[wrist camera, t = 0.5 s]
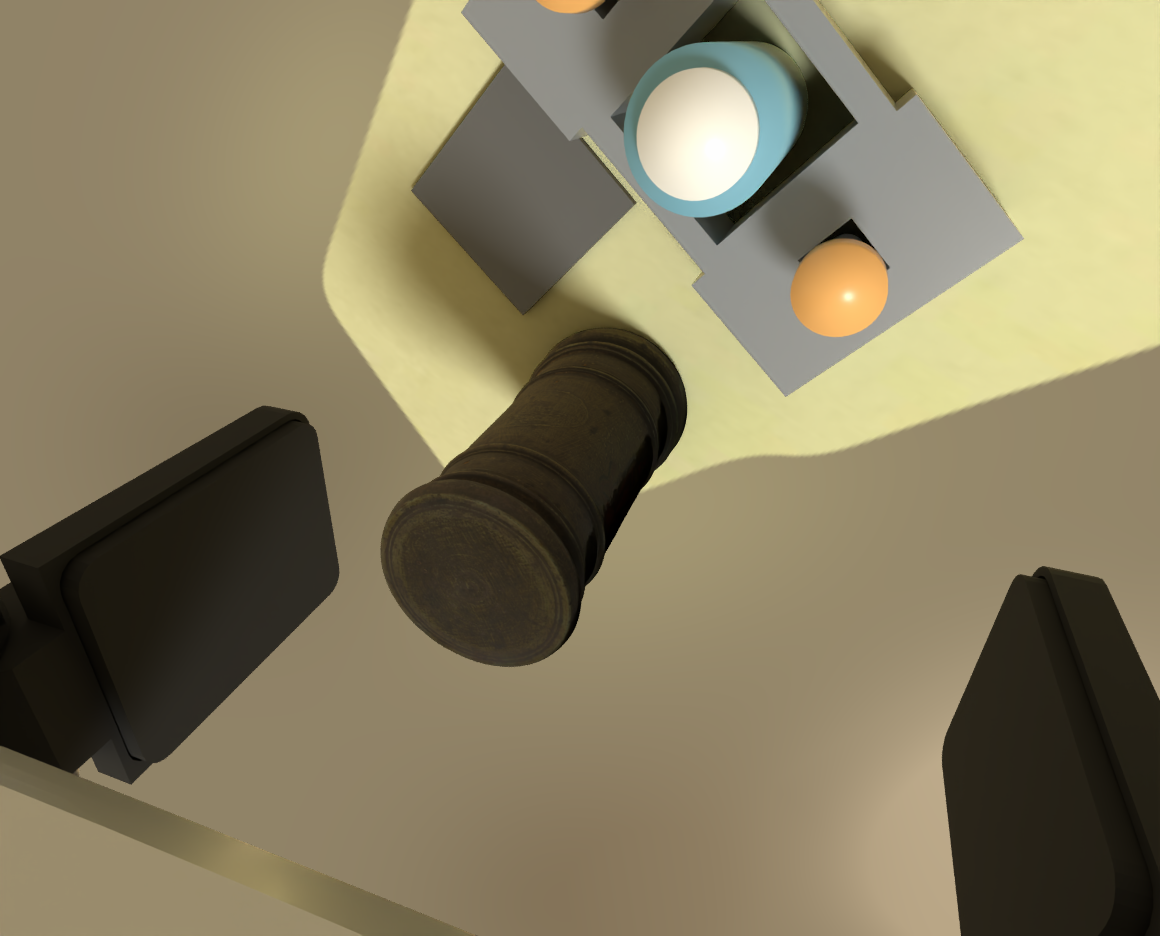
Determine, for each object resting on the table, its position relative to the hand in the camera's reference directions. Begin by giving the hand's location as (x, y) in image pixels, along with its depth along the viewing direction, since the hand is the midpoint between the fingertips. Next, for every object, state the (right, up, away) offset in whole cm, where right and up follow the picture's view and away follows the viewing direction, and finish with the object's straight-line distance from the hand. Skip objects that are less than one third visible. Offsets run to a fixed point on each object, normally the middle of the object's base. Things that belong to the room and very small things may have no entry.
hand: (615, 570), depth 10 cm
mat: (-4, +16, +28) cm, 33 cm away
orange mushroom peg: (+11, +11, +22) cm, 27 cm away
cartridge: (+7, +18, +23) cm, 30 cm away
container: (+2, +6, +33) cm, 33 cm away
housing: (+7, +18, +23) cm, 30 cm away
